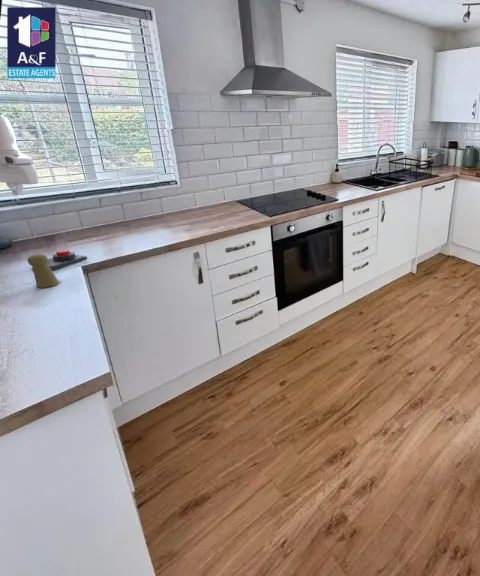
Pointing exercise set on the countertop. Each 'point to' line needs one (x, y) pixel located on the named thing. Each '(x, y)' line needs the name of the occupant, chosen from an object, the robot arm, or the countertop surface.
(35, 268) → the olive brown upright piece
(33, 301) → the countertop surface
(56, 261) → the dark grey base
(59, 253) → the power button
